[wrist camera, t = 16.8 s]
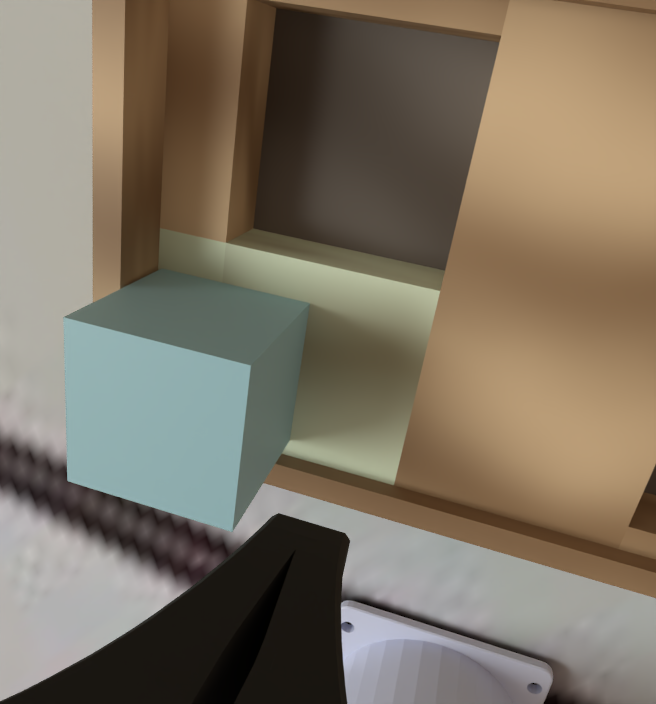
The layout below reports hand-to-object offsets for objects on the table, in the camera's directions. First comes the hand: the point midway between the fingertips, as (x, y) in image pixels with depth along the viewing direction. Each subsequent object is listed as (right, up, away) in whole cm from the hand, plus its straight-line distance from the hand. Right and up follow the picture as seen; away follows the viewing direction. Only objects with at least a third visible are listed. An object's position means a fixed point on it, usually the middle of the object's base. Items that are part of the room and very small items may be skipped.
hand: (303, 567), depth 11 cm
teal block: (-3, +4, +8) cm, 9 cm away
